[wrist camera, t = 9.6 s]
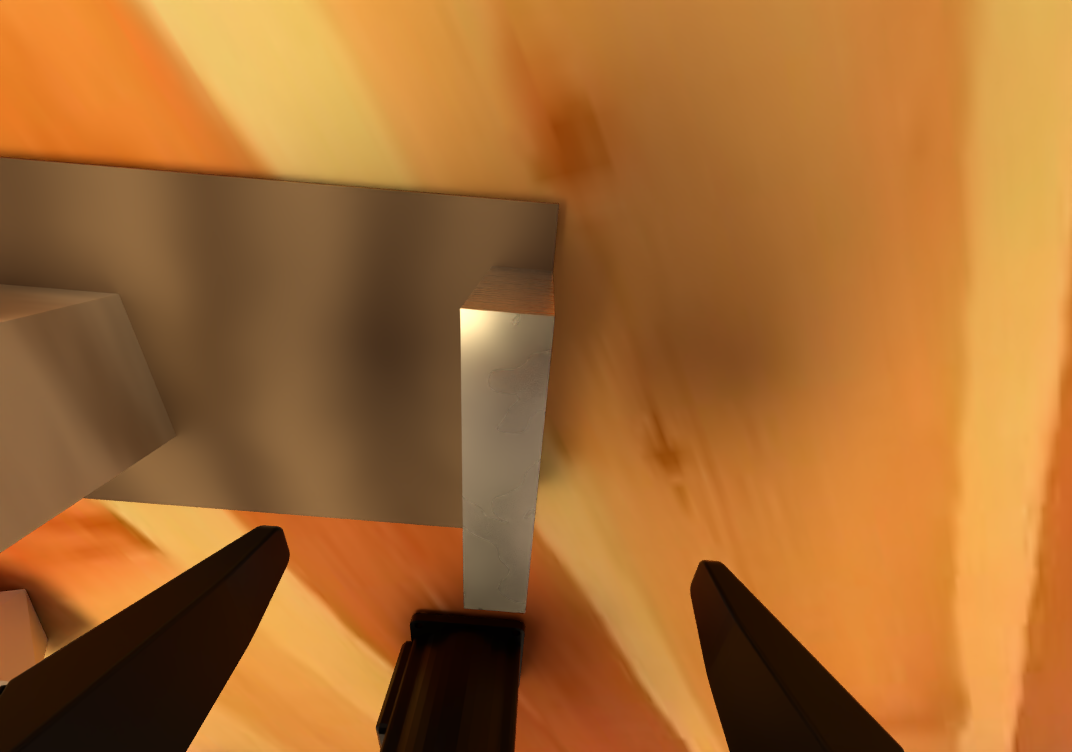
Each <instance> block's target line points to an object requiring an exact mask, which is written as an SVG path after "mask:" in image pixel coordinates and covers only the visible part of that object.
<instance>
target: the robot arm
mask: <svg viewBox="0 0 1072 752" xmlns="http://www.w3.org/2000/svg"><path fill="white" fill-rule="evenodd" d="M289 557H290V552H289V548H288V545H287V542H286V538H285V535H284V532H283V529H282V528H280V527H278V526H266V525H264V526H259V527H256V528H255V529H253V530H251V531H250V532H248V533H247V534H245V535H243V536H242V537H240V538H238V539H237V540H235V541H234V542H232V543H230V544H229V545H227V546H226V547H224V548H222V549H221V550H219V551H218V552H216V553H214V554H213V555H211V556H209V557H208V558H206V559H205V560H203V561H201V562H200V563H198V564H197V565H195V566H193V567H192V568H190V569H189V570H187V571H185V572H184V573H182V574H180V575H179V576H177V577H176V578H174V579H172V580H171V581H169V582H168V583H166V584H164V585H163V586H161V587H160V588H158V589H156V590H155V591H153V592H151V593H150V594H148V595H147V596H145V597H143V598H142V599H140V600H139V601H137V602H135V603H134V604H132V605H131V606H129V607H127V608H126V609H124V610H122V611H121V612H119V613H118V614H116V615H114V616H113V617H111V618H110V619H108V620H106V621H105V622H103V623H102V624H100V625H98V626H97V627H95V628H93V629H92V630H90V631H89V632H87V633H85V634H84V635H82V636H81V637H79V638H77V639H76V640H74V641H72V642H71V643H69V644H68V645H66V646H64V647H63V648H61V649H60V650H58V651H56V652H55V653H53V654H52V655H50V656H48V657H47V658H45V659H43V660H42V661H40V662H39V663H37V664H35V665H34V666H32V667H31V668H29V669H27V670H26V671H24V672H23V673H21V674H19V675H18V676H16V677H14V678H13V679H11V680H10V681H9V682H8V684H7V685H2V686H0V752H186V751H187V749H188V747H189V746H190V744H191V742H192V741H193V739H194V737H195V736H196V734H197V732H198V730H199V729H200V727H201V725H202V724H203V722H204V720H205V719H206V717H207V715H208V713H209V712H210V710H211V708H212V707H213V705H214V703H215V702H216V700H217V698H218V696H219V695H220V693H221V691H222V690H223V688H224V686H225V684H226V683H227V681H228V679H229V678H230V676H231V674H232V673H233V671H234V669H235V667H236V666H237V664H238V662H239V661H240V659H241V657H242V656H243V654H244V652H245V650H246V649H247V647H248V645H249V643H250V641H251V640H252V638H253V636H254V634H255V632H256V630H257V628H258V626H259V623H260V621H261V619H262V617H263V615H264V613H265V611H266V609H267V607H268V605H269V602H270V600H271V598H272V596H273V594H274V592H275V590H276V588H277V586H278V584H279V581H280V579H281V577H282V575H283V573H284V571H285V569H286V567H287V564H288V561H289ZM690 593H691V599H692V604H693V609H694V614H695V619H696V624H697V629H698V634H699V639H700V644H701V649H702V654H703V659H704V664H705V668H706V672H707V677H708V680H709V684H710V688H711V691H712V694H713V698H714V701H715V704H716V708H717V711H718V714H719V718H720V721H721V724H722V728H723V731H724V734H725V738H726V741H727V744H728V748H729V751H730V752H904V750H903V748H902V747H901V746H900V745H899V744H898V743H897V742H896V741H895V740H894V739H893V738H892V737H891V735H890V734H889V733H888V732H887V731H886V730H885V729H884V728H883V727H882V726H881V725H880V724H879V723H878V722H877V721H876V720H875V719H874V718H873V717H872V716H871V715H870V714H869V713H868V712H867V711H866V710H865V709H864V708H863V707H862V706H861V705H860V704H859V703H858V702H857V701H856V700H855V699H854V697H853V696H852V695H851V694H850V693H849V692H848V691H847V690H846V689H845V688H844V687H843V686H842V685H841V684H840V683H839V682H838V681H837V680H836V679H835V678H834V677H833V676H832V675H831V674H830V673H829V672H828V671H827V670H826V669H825V668H824V667H823V666H822V665H821V664H820V663H819V662H818V661H817V659H816V658H815V657H814V656H813V655H812V654H811V653H810V652H809V651H808V650H807V649H806V648H805V647H804V646H803V645H802V644H801V643H800V642H799V641H798V640H797V639H796V638H795V637H794V636H793V635H792V634H791V633H790V632H789V631H788V630H787V629H786V628H785V627H784V626H783V625H782V624H781V622H780V621H779V620H778V619H777V618H776V617H775V616H774V615H773V614H772V613H771V612H770V611H769V610H768V609H767V608H766V607H765V606H764V605H763V604H762V603H761V602H760V601H759V600H758V599H757V598H756V597H755V596H754V595H753V594H752V593H751V592H750V591H749V590H748V589H747V588H746V587H745V586H744V584H743V583H742V582H741V581H740V580H739V579H738V578H737V577H736V576H735V575H734V574H733V573H732V572H731V571H730V570H729V569H728V568H727V567H726V566H725V565H724V564H722V563H721V562H719V561H709V560H702V561H701V562H700V563H699V565H698V567H697V570H696V572H695V575H694V578H693V580H692V583H691V587H690ZM410 630H411V639H412V641H406V642H405V643H404V644H403V645H402V647H401V650H400V653H399V657H398V660H397V663H396V666H395V669H394V672H393V675H392V678H391V681H390V684H389V688H388V691H387V694H386V697H385V700H384V703H383V706H382V709H381V712H380V716H379V719H378V722H377V725H376V731H377V736H378V740H379V745H380V752H515V736H516V720H517V703H518V688H519V683H520V673H521V664H522V654H523V644H524V635H525V625H524V623H522V622H520V621H515V620H502V619H489V618H477V617H464V616H451V615H438V614H425V613H416V614H414V615H413V616H412V619H411V622H410Z"/></svg>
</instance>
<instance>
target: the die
mask: <svg viewBox="0 0 1072 752" xmlns="http://www.w3.org/2000/svg"><path fill="white" fill-rule="evenodd" d="M47 642H48V639H47V637H46V634H45V632H44V630H43V628H42V625H41V623H40V621H39V619H38V616H37V614H36V612H35V610H34V607H33V605H32V603H31V601H30V598H29V596H28V594H27V592H26V589H20V590H11V591H2V592H0V686H2V685H7V684H8V682H9V681H10V680H11V679H13V678H14V677H16V676H18V675H19V674H21V673H23V672H24V671H26V670H27V669H29V668H31V667H32V666H34V665H35V664H37V663H39V662H40V661H42V660H43V659H44V655H45V651H46V647H47Z"/></svg>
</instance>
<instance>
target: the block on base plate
mask: <svg viewBox="0 0 1072 752" xmlns="http://www.w3.org/2000/svg"><path fill="white" fill-rule="evenodd" d="M558 210H559V204H557V203H545V202H533V201H521V200H509V199H497V198H486V197H474V196H462V195H450V194H438V193H426V192H414V191H402V190H390V189H378V188H366V187H354V186H342V185H330V184H318V183H306V182H294V181H282V180H270V179H258V178H246V177H235V176H223V175H211V174H199V173H187V172H175V171H163V170H151V169H139V168H127V167H115V166H103V165H91V164H79V163H67V162H55V161H43V160H31V159H19V158H7V157H0V284H4V285H17V286H29V287H41V288H53V289H65V290H78V291H90V292H102V293H114V294H119V296H120V298H121V301H122V303H123V306H124V308H125V311H126V313H127V316H128V318H129V321H130V323H131V325H132V328H133V330H134V333H135V335H136V338H137V340H138V343H139V345H140V348H141V350H142V353H143V355H144V358H145V360H146V362H147V365H148V367H149V370H150V372H151V375H152V377H153V380H154V382H155V385H156V387H157V390H158V392H159V395H160V397H161V400H162V402H163V404H164V407H165V409H166V412H167V414H168V417H169V419H170V422H171V424H172V427H173V429H174V432H175V434H176V437H174V438H173V439H171V440H170V441H168V442H167V443H165V444H164V445H162V446H161V447H159V448H158V449H156V450H155V451H153V452H152V453H150V454H149V455H147V456H146V457H144V458H143V459H141V460H140V461H138V462H137V463H135V464H134V465H132V466H131V467H129V468H128V469H126V470H125V471H123V472H122V473H120V474H119V475H117V476H116V477H114V478H113V479H111V480H109V481H108V482H106V483H105V484H103V485H102V486H100V487H99V488H97V489H96V490H94V491H93V492H91V493H90V494H88V495H87V496H85V497H84V498H88V499H101V500H114V501H126V502H139V503H152V504H164V505H177V506H190V507H202V508H215V509H228V510H240V511H253V512H266V513H278V514H291V515H303V516H316V517H329V518H341V519H354V520H367V521H379V522H392V523H405V524H417V525H430V526H443V527H455V528H463V588H464V608H466V609H479V610H491V611H504V612H517V613H525V610H526V600H527V590H528V580H529V570H530V560H531V550H532V540H533V530H534V520H535V510H536V500H537V490H538V480H539V470H540V460H541V450H542V440H543V431H544V421H545V411H546V401H547V391H548V381H549V371H550V361H551V351H552V341H553V331H554V321H555V306H554V285H553V264H554V253H555V243H556V232H557V221H558Z"/></svg>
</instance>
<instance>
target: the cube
mask: <svg viewBox="0 0 1072 752" xmlns="http://www.w3.org/2000/svg"><path fill="white" fill-rule="evenodd" d="M174 437H176V434H175V432H174V429H173V427H172V424H171V422H170V419H169V417H168V414H167V412H166V409H165V407H164V404H163V402H162V400H161V397H160V395H159V392H158V390H157V387H156V385H155V382H154V380H153V377H152V375H151V372H150V370H149V367H148V365H147V362H146V360H145V358H144V355H143V353H142V350H141V348H140V345H139V343H138V340H137V338H136V335H135V333H134V330H133V328H132V325H131V323H130V321H129V318H128V316H127V313H126V311H125V308H124V306H123V303H122V301H121V298H120V296H119V294H114V293H102V292H90V291H78V290H65V289H53V288H41V287H29V286H17V285H4V284H0V553H1V552H2V551H4V550H5V549H7V548H8V547H10V546H11V545H13V544H14V543H16V542H17V541H19V540H20V539H22V538H23V537H25V536H26V535H28V534H29V533H31V532H32V531H34V530H35V529H37V528H38V527H40V526H41V525H43V524H45V523H46V522H48V521H49V520H51V519H52V518H54V517H55V516H57V515H58V514H60V513H61V512H63V511H64V510H66V509H67V508H69V507H70V506H72V505H73V504H75V503H76V502H78V501H79V500H81V499H82V498H84V497H85V496H87V495H88V494H90V493H91V492H93V491H94V490H96V489H97V488H99V487H100V486H102V485H103V484H105V483H106V482H108V481H109V480H111V479H113V478H114V477H116V476H117V475H119V474H120V473H122V472H123V471H125V470H126V469H128V468H129V467H131V466H132V465H134V464H135V463H137V462H138V461H140V460H141V459H143V458H144V457H146V456H147V455H149V454H150V453H152V452H153V451H155V450H156V449H158V448H159V447H161V446H162V445H164V444H165V443H167V442H168V441H170V440H171V439H173V438H174Z"/></svg>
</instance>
